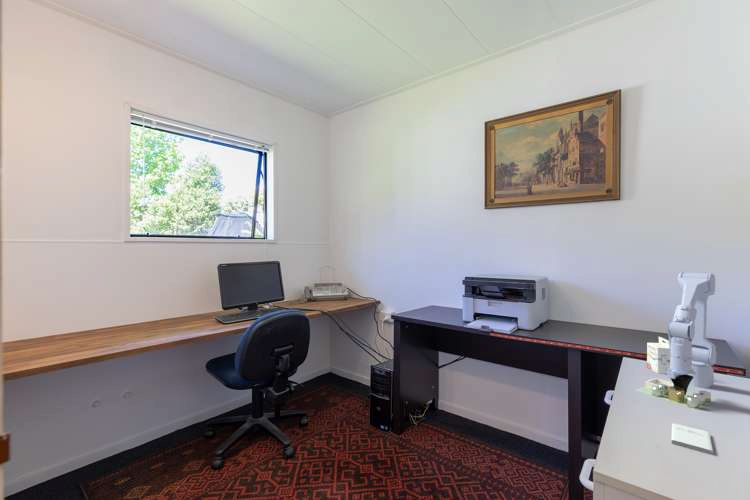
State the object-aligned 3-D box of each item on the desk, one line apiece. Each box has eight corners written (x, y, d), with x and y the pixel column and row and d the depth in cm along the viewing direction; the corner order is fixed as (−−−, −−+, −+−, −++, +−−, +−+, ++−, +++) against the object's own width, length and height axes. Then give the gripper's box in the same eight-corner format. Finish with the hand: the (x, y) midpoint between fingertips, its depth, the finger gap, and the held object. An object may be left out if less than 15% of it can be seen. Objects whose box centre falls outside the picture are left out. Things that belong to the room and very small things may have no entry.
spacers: (666, 388, 132) (666, 380, 132) (712, 401, 120) (712, 393, 120) (650, 394, 126) (650, 386, 126) (696, 409, 115) (696, 400, 114)
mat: (657, 384, 138) (657, 382, 138) (718, 401, 122) (718, 399, 122) (633, 392, 130) (633, 390, 130) (695, 412, 114) (695, 409, 114)
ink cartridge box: (646, 368, 156) (646, 335, 156) (658, 369, 155) (658, 336, 155) (657, 375, 148) (657, 340, 148) (671, 376, 147) (671, 341, 147)
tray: (655, 382, 138) (655, 377, 138) (681, 389, 131) (681, 384, 131) (645, 386, 134) (645, 381, 134) (670, 393, 127) (670, 388, 127)
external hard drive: (671, 445, 96) (671, 427, 105) (713, 457, 91) (709, 437, 100) (671, 439, 96) (672, 422, 105) (713, 450, 91) (709, 431, 100)
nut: (670, 396, 125) (670, 384, 124) (687, 401, 120) (687, 389, 120) (665, 398, 123) (665, 387, 123) (681, 403, 119) (681, 392, 118)
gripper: (685, 362, 116) (685, 404, 116) (704, 356, 123) (704, 395, 123) (660, 357, 122) (659, 396, 122) (679, 351, 129) (679, 388, 129)
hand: (680, 395), depth 123 cm, fingers closed
